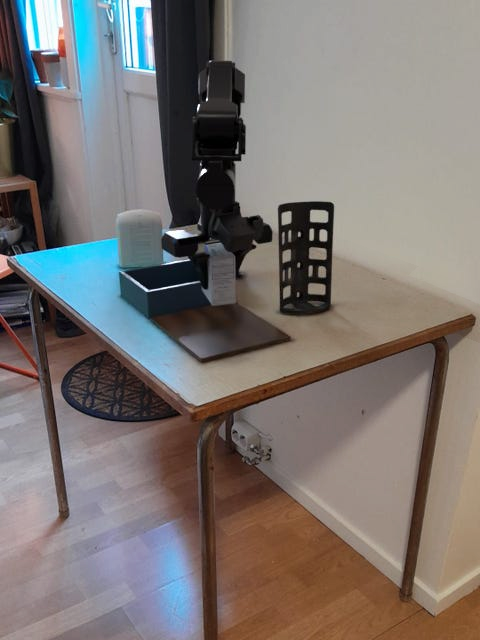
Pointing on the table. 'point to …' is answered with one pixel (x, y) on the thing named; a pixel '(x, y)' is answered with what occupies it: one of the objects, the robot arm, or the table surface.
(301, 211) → the holder
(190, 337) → the board
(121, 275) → the tote
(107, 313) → the table surface
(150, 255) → the grey rounded block
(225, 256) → the medicine box
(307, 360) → the table surface
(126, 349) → the table surface
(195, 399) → the table surface
